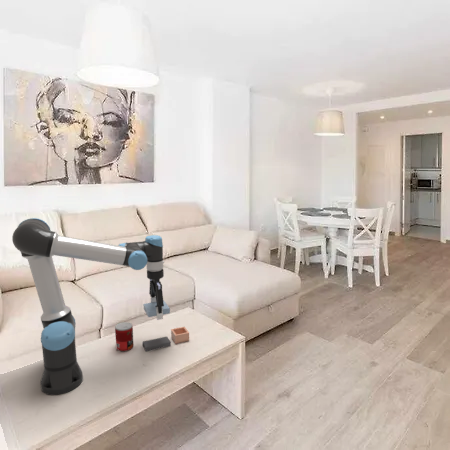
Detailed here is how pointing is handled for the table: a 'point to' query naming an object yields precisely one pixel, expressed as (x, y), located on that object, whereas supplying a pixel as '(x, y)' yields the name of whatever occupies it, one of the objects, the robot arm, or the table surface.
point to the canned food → (124, 336)
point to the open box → (179, 335)
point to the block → (156, 343)
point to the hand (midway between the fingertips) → (156, 314)
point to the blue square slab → (151, 309)
